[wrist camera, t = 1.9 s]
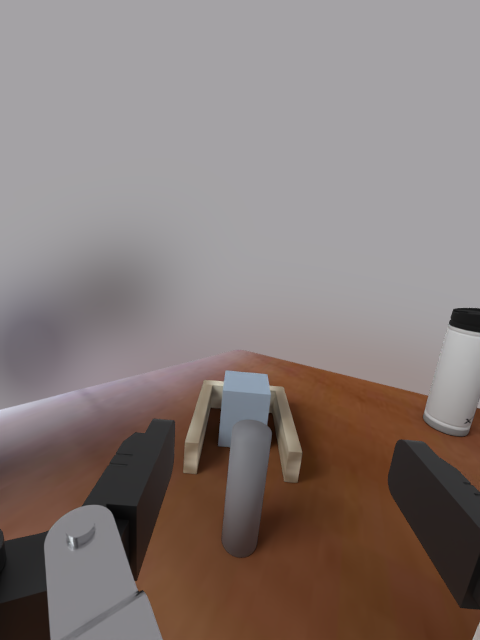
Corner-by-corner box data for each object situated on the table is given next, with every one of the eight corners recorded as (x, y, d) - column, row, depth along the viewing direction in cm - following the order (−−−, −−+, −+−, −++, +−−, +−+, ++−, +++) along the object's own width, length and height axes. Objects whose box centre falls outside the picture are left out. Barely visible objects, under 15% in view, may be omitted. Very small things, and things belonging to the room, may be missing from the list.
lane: (183, 472, 32) (184, 442, 31) (202, 401, 47) (204, 379, 46) (297, 482, 32) (302, 452, 31) (280, 408, 47) (283, 387, 46)
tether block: (203, 554, 24) (212, 440, 21) (221, 419, 43) (227, 351, 40) (274, 560, 24) (292, 447, 21) (261, 423, 43) (269, 354, 40)
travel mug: (478, 442, 43) (521, 314, 38) (429, 430, 45) (464, 307, 40) (460, 420, 49) (496, 307, 44) (418, 411, 51) (447, 301, 46)
